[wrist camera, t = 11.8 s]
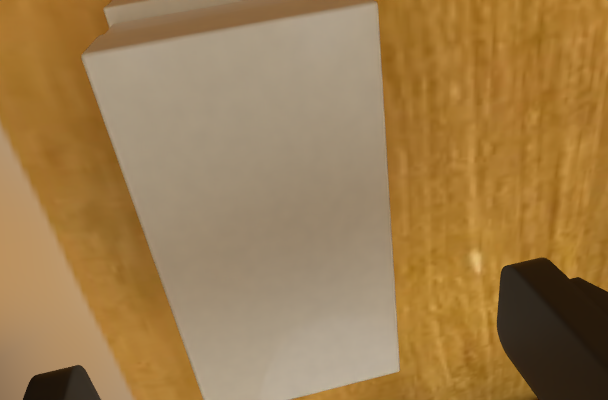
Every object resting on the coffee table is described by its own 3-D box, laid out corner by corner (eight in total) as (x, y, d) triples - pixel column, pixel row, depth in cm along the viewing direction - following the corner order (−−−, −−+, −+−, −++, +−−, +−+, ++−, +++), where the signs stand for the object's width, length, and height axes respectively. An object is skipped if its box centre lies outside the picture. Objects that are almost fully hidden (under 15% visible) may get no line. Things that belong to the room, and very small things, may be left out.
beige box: (112, -1, 14) (89, 19, 11) (317, -36, 15) (349, -26, 12) (207, 306, 20) (209, 375, 17) (351, 272, 21) (380, 333, 17)
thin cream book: (96, 35, 11) (78, 54, 10) (352, -11, 12) (378, 0, 10) (208, 370, 17) (210, 421, 15) (380, 328, 17) (400, 372, 16)
